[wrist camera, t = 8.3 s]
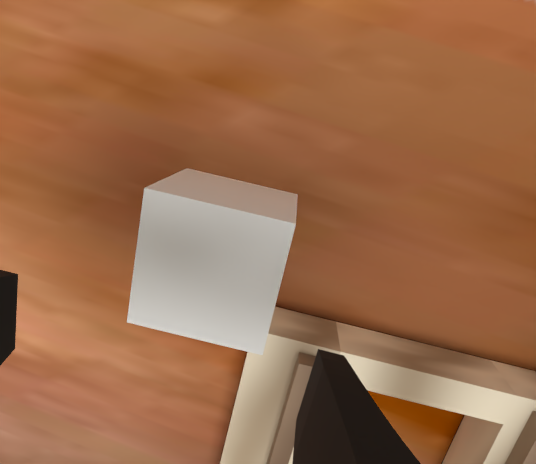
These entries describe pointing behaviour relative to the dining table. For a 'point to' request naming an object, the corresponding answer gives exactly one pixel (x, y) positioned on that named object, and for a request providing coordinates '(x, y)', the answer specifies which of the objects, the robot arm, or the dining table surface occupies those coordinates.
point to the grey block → (211, 258)
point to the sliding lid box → (380, 391)
